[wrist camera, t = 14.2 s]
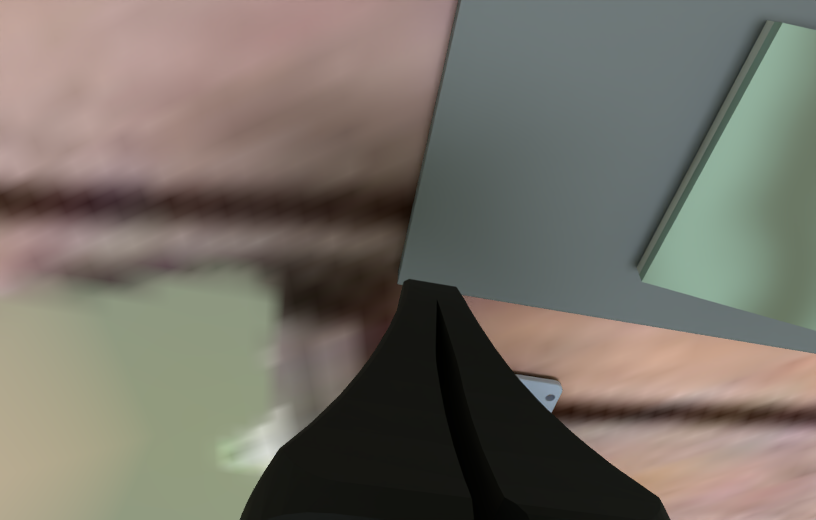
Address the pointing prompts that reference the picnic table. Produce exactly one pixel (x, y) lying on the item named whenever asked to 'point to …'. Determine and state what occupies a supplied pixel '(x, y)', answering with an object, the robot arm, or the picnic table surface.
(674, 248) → the tile
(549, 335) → the picnic table surface
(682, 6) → the board
